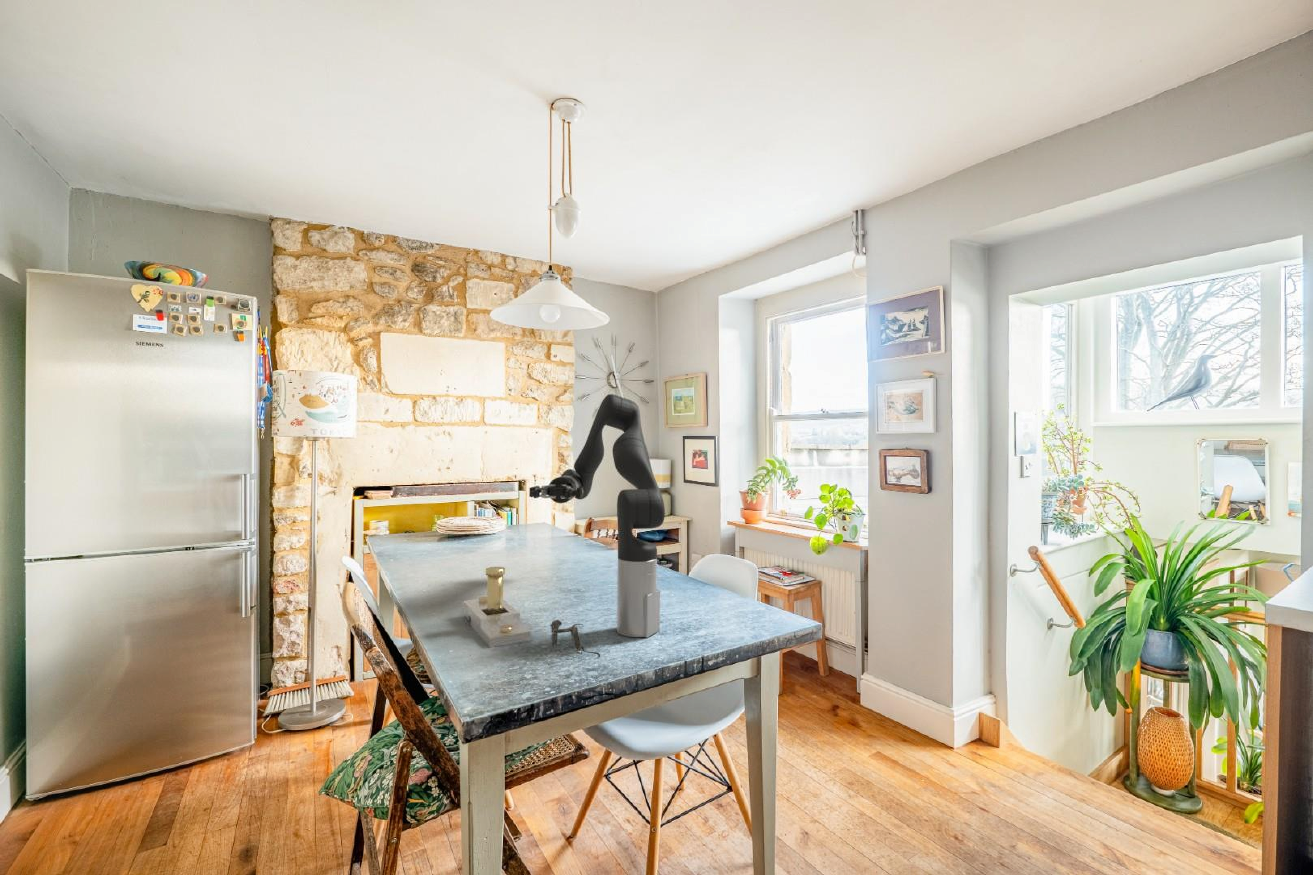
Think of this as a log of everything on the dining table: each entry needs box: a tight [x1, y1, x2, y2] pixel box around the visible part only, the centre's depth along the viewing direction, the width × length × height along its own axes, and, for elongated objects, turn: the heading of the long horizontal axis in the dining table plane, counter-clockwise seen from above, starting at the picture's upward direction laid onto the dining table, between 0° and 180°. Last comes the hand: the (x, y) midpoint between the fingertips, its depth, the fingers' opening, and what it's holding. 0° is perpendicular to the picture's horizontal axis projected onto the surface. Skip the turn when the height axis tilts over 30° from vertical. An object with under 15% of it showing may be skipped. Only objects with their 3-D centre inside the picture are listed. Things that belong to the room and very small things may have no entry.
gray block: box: [462, 596, 531, 648], centre depth 137 cm, size 24×9×5 cm, turn 32°
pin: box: [485, 566, 506, 616], centre depth 137 cm, size 4×4×14 cm
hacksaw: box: [551, 619, 601, 660], centre depth 130 cm, size 24×10×2 cm, turn 9°
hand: (550, 494), depth 153 cm, fingers open, 8 cm apart
